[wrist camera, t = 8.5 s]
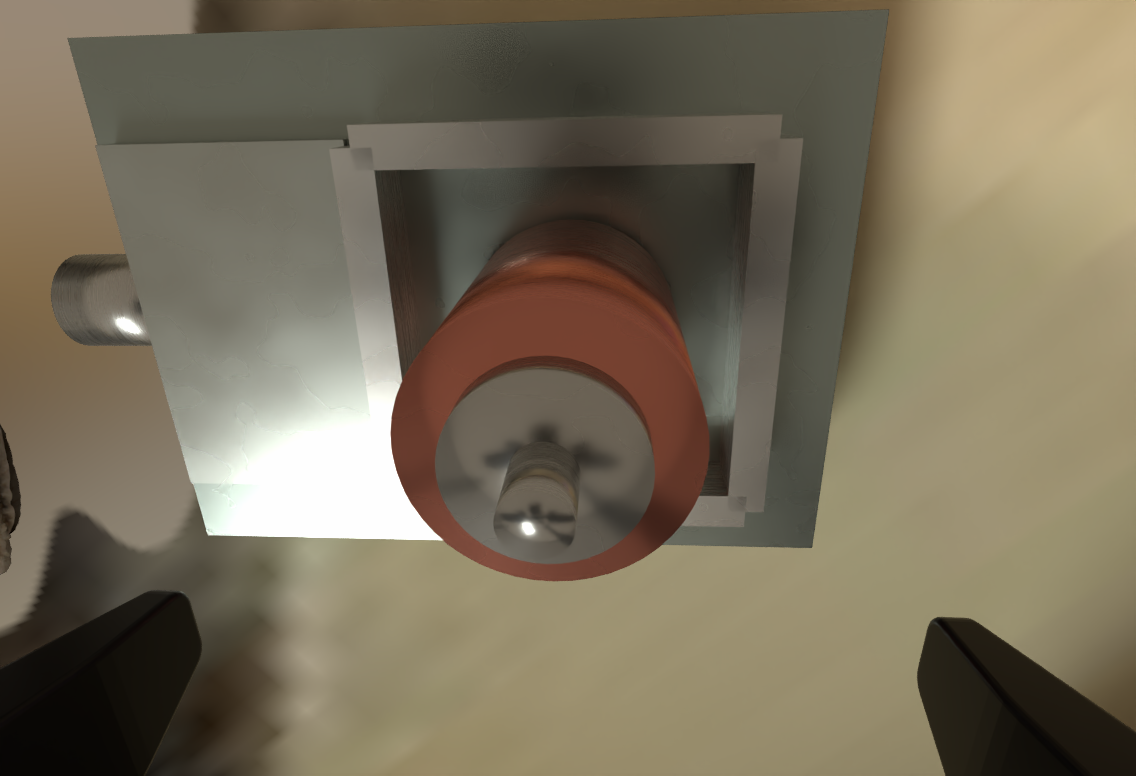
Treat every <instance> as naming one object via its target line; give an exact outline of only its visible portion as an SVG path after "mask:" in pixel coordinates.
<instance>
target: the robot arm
mask: <svg viewBox="0 0 1136 776" xmlns="http://www.w3.org/2000/svg"><path fill="white" fill-rule="evenodd" d="M201 652H202V640H201V636H200V633H199V630H198V626H197V623H196V620H195V616H194V613H193V610H192V606H191V603H190V600H189V598H188V597H187V595H186V594H185V593H183V592H180V591H166V590H153V591H148V592H146V593H144V594H142V595H140V596H138V597H136V598H134V599H132V600H130V601H128V602H126V603H124V604H122V605H121V606H119V607H117V608H115V609H113V610H111V611H109V612H107V613H105V614H103V615H101V616H100V617H98V618H96V619H94V620H92V621H90V622H88V623H86V624H84V625H82V626H80V627H78V628H77V629H75V630H73V631H71V632H69V633H67V634H65V635H63V636H61V637H59V638H57V639H56V640H54V641H52V642H50V643H48V644H46V645H44V646H42V647H40V648H38V649H36V650H34V651H33V652H31V653H29V654H27V655H25V656H23V657H21V658H19V659H17V660H15V661H13V662H11V663H10V664H8V665H6V666H4V667H2V668H0V776H145V775H146V773H147V771H148V769H149V767H150V765H151V763H152V761H153V759H154V757H155V754H156V752H157V750H158V748H159V746H160V744H161V742H162V740H163V737H164V735H165V733H166V731H167V729H168V727H169V725H170V723H171V720H172V718H173V716H174V714H175V712H176V710H177V708H178V706H179V703H180V701H181V699H182V697H183V695H184V693H185V691H186V689H187V686H188V684H189V682H190V680H191V678H192V676H193V674H194V671H195V669H196V667H197V665H198V663H199V660H200V657H201ZM917 681H918V688H919V692H920V696H921V699H922V702H923V705H924V709H925V712H926V715H927V718H928V721H929V725H930V728H931V731H932V734H933V737H934V740H935V744H936V747H937V750H938V753H939V756H940V760H941V763H942V766H943V769H944V772H945V776H1136V732H1135V731H1134V730H1132V729H1131V728H1129V727H1128V726H1127V725H1125V724H1124V723H1122V722H1121V721H1119V720H1118V719H1116V718H1115V717H1114V716H1112V715H1111V714H1109V713H1108V712H1106V711H1105V710H1103V709H1102V708H1101V707H1099V706H1098V705H1096V704H1095V703H1093V702H1092V701H1090V700H1089V699H1088V698H1086V697H1085V696H1083V695H1082V694H1080V693H1079V692H1077V691H1076V690H1074V689H1073V688H1072V687H1070V686H1069V685H1067V684H1066V683H1064V682H1063V681H1061V680H1060V679H1059V678H1057V677H1056V676H1054V675H1053V674H1051V673H1050V672H1048V671H1047V670H1046V669H1044V668H1043V667H1041V666H1040V665H1038V664H1037V663H1035V662H1034V661H1033V660H1031V659H1030V658H1028V657H1027V656H1025V655H1024V654H1022V653H1021V652H1020V651H1018V650H1017V649H1015V648H1014V647H1012V646H1011V645H1009V644H1008V643H1007V642H1005V641H1004V640H1002V639H1001V638H999V637H998V636H996V635H995V634H994V633H992V632H991V631H989V630H988V629H986V628H985V627H983V626H982V625H981V624H979V623H977V622H976V621H974V620H972V619H969V618H954V617H937V618H934V619H933V620H932V621H931V622H930V623H929V626H928V629H927V633H926V637H925V641H924V645H923V650H922V654H921V658H920V662H919V666H918V672H917Z"/></svg>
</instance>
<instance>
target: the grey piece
mask: <svg viewBox="0 0 1136 776" xmlns="http://www.w3.org/2000/svg"><path fill="white" fill-rule="evenodd" d="M888 15H889V10H860V11H831V12H803V13H774V14H745V15H716V16H688V17H659V18H630V19H602V20H573V21H544V22H516V23H487V24H458V25H430V26H401V27H372V28H344V29H315V30H286V31H258V32H229V33H200V34H172V35H145V36H144V35H143V36H115V37H89V38H88V37H87V38H68V42H69V45H70V49H71V52H72V56H73V60H74V63H75V67H76V70H77V74H78V77H79V80H80V84H81V87H82V91H83V94H84V98H85V102H86V105H87V109H88V113H89V116H90V119H91V123H92V127H93V130H94V134H95V137H96V141H97V144H98V145H96V150H97V153H98V157H99V160H100V164H101V167H102V171H103V174H104V178H105V182H106V185H107V189H108V192H109V196H110V199H111V203H112V206H113V210H114V213H115V217H116V220H117V224H118V227H119V231H120V235H121V238H122V241H123V245H124V248H125V252H126V254H93V255H92V254H91V255H90V254H89V255H75V256H72V257H70V258H68V259H67V260H65V261H64V262H63V263H62V264H61V266H60V267H59V268H58V270H57V271H56V273H55V276H54V279H53V282H52V288H51V301H52V307H53V311H54V314H55V317H56V319H57V321H58V323H59V325H60V327H61V328H62V329H63V331H64V332H65V333H66V334H67V335H68V336H69V337H70V338H71V339H73V340H74V341H76V342H78V343H80V344H83V345H89V346H100V345H101V346H102V345H103V346H104V345H105V346H107V345H108V346H111V345H112V346H113V345H114V346H118V345H119V346H123V345H124V346H132V345H133V346H134V345H135V346H137V345H140V346H144V345H145V346H152V347H153V351H154V354H155V358H156V361H157V365H158V368H159V372H160V375H161V378H162V382H163V386H164V389H165V393H166V396H167V400H168V403H169V407H170V410H171V413H172V417H173V421H174V424H175V428H176V431H177V435H178V439H179V442H180V445H181V449H182V452H183V456H184V459H185V463H186V467H187V470H188V474H189V477H190V481H191V483H193V484H194V487H195V491H196V494H197V498H198V502H199V505H200V509H201V512H202V516H203V519H204V523H205V526H206V530H207V533H208V535H235V536H281V537H327V538H374V539H420V540H442V539H441V538H440V537H439V536H438V535H437V534H435V533H434V532H433V531H432V530H431V528H430V527H429V526H428V525H427V524H426V523H425V522H424V521H423V520H422V519H421V517H420V516H419V514H418V513H417V512H416V510H415V509H414V507H413V506H412V504H411V503H410V501H409V499H408V497H407V495H406V494H405V492H404V490H403V488H402V486H401V483H400V480H399V478H398V475H397V472H396V469H395V465H394V460H393V456H392V450H391V437H390V430H391V416H392V411H393V407H394V402H395V398H396V395H397V392H398V390H399V387H400V385H401V382H402V380H403V378H404V376H405V374H406V373H407V371H408V369H409V367H410V366H411V364H412V362H413V361H414V360H415V358H416V357H417V356H418V354H419V353H420V352H421V350H422V349H423V348H424V346H425V345H426V344H427V342H428V341H429V340H430V338H431V337H432V336H433V334H434V333H435V332H436V330H437V329H438V328H439V326H440V325H441V324H442V322H443V321H444V320H445V318H446V317H447V316H448V314H449V313H450V312H451V310H452V309H453V308H454V306H455V305H456V304H457V302H458V301H459V300H460V298H461V297H462V295H463V294H464V293H465V291H466V290H467V289H468V287H469V286H470V285H471V283H472V282H473V281H474V279H475V278H476V277H477V275H478V274H479V273H480V271H481V270H482V269H483V267H484V266H485V265H486V263H487V262H488V261H489V260H490V258H491V257H492V256H493V255H494V253H495V252H496V251H497V250H498V249H499V248H500V247H501V246H502V245H503V244H505V243H506V242H507V241H509V240H510V239H511V238H513V237H514V236H515V235H517V234H519V233H521V232H523V231H525V230H527V229H529V228H531V227H534V226H537V225H539V224H543V223H547V222H552V221H558V220H585V221H590V222H595V223H599V224H602V225H605V226H608V227H611V228H613V229H615V230H618V231H620V232H622V233H624V234H625V235H627V236H628V237H630V238H631V239H633V240H634V241H636V242H637V243H638V244H639V245H640V246H641V247H643V248H644V249H645V250H646V251H647V252H648V253H649V254H650V256H651V257H652V258H653V259H654V260H655V262H656V263H657V265H658V266H659V268H660V269H661V271H662V272H663V274H664V276H665V279H666V281H667V283H668V285H669V288H670V291H671V295H672V298H673V301H674V305H675V308H676V312H677V315H678V319H679V322H680V326H681V329H682V333H683V336H684V340H685V343H686V347H687V351H688V354H689V358H690V361H691V365H692V368H693V372H694V375H695V379H696V382H697V386H698V389H699V393H700V396H701V400H702V403H703V407H704V410H705V414H706V418H707V424H708V430H709V461H708V468H707V474H706V477H705V481H704V484H703V487H702V491H701V493H700V495H699V497H698V499H697V501H696V503H695V506H694V507H693V509H692V511H691V512H690V514H689V515H688V517H687V518H686V520H685V521H684V523H683V524H682V525H681V526H680V527H679V528H678V530H677V531H676V532H675V533H674V534H673V535H672V536H671V537H670V538H669V539H668V540H667V541H666V542H664V543H663V544H662V545H699V546H746V547H792V548H812V545H813V538H814V531H815V524H816V517H817V510H818V503H819V496H820V489H821V482H822V475H823V468H824V461H825V454H826V447H827V440H828V433H829V426H830V419H831V412H832V405H833V398H834V391H835V384H836V377H837V370H838V363H839V356H840V349H841V342H842V335H843V328H844V321H845V314H846V307H847V301H848V294H849V287H850V280H851V273H852V266H853V259H854V252H855V245H856V238H857V231H858V224H859V217H860V210H861V203H862V196H863V189H864V182H865V175H866V168H867V161H868V154H869V147H870V140H871V133H872V126H873V119H874V112H875V105H876V98H877V91H878V84H879V77H880V70H881V63H882V56H883V49H884V42H885V36H886V29H887V22H888Z"/></svg>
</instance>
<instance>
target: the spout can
mask: <svg viewBox="0 0 1136 776" xmlns="http://www.w3.org/2000/svg"><path fill="white" fill-rule="evenodd" d="M390 437H391V450H392V456H393V460H394V465H395V469H396V472H397V475H398V478H399V480H400V483H401V486H402V488H403V490H404V492H405V494H406V495H407V497H408V499H409V501H410V503H411V504H412V506H413V507H414V509H415V510H416V512H417V513H418V514H419V516H420V517H421V519H422V520H423V521H424V522H425V523H426V524H427V525H428V526H429V527H430V528H431V530H432V531H433V532H434V533H435V534H437V535H438V536H439V537H440V538H441V539H442V540H443V541H445V542H446V543H447V544H448V545H450V546H451V547H452V548H454V549H455V550H457V551H458V552H460V553H461V554H463V555H464V556H466V557H468V558H470V559H472V560H473V561H475V562H477V563H479V564H481V565H484V566H486V567H489V568H491V569H493V570H496V571H499V572H502V573H506V574H509V575H513V576H516V577H522V578H527V579H533V580H544V581H573V580H580V579H587V578H593V577H597V576H601V575H605V574H609V573H612V572H614V571H617V570H620V569H622V568H625V567H627V566H629V565H631V564H633V563H635V562H637V561H639V560H641V559H643V558H644V557H646V556H647V555H649V554H650V553H652V552H653V551H655V550H656V549H657V548H659V547H660V546H661V545H662V544H663V543H664V542H666V541H667V540H668V539H669V538H670V537H671V536H672V535H673V534H674V533H675V532H676V531H677V530H678V528H679V527H680V526H681V525H682V524H683V523H684V521H685V520H686V518H687V517H688V515H689V514H690V512H691V511H692V509H693V507H694V506H695V503H696V501H697V499H698V497H699V495H700V493H701V491H702V487H703V484H704V481H705V477H706V474H707V468H708V461H709V430H708V424H707V418H706V414H705V410H704V407H703V403H702V400H701V396H700V393H699V389H698V386H697V382H696V379H695V375H694V372H693V368H692V365H691V361H690V358H689V354H688V351H687V347H686V343H685V340H684V336H683V333H682V329H681V326H680V322H679V319H678V315H677V312H676V308H675V305H674V301H673V298H672V295H671V291H670V288H669V285H668V283H667V281H666V279H665V276H664V274H663V272H662V271H661V269H660V268H659V266H658V265H657V263H656V262H655V260H654V259H653V258H652V257H651V256H650V254H649V253H648V252H647V251H646V250H645V249H644V248H643V247H641V246H640V245H639V244H638V243H637V242H636V241H634V240H633V239H631V238H630V237H628V236H627V235H625V234H624V233H622V232H620V231H618V230H615V229H613V228H611V227H608V226H605V225H602V224H599V223H595V222H590V221H585V220H558V221H552V222H547V223H543V224H539V225H537V226H534V227H531V228H529V229H527V230H525V231H523V232H521V233H519V234H517V235H515V236H514V237H513V238H511V239H510V240H509V241H507V242H506V243H505V244H503V245H502V246H501V247H500V248H499V249H498V250H497V251H496V252H495V253H494V255H493V256H492V257H491V258H490V260H489V261H488V262H487V263H486V265H485V266H484V267H483V269H482V270H481V271H480V273H479V274H478V275H477V277H476V278H475V279H474V281H473V282H472V283H471V285H470V286H469V287H468V289H467V290H466V291H465V293H464V294H463V295H462V297H461V298H460V300H459V301H458V302H457V304H456V305H455V306H454V308H453V309H452V310H451V312H450V313H449V314H448V316H447V317H446V318H445V320H444V321H443V322H442V324H441V325H440V326H439V328H438V329H437V330H436V332H435V333H434V334H433V336H432V337H431V338H430V340H429V341H428V342H427V344H426V345H425V346H424V348H423V349H422V350H421V352H420V353H419V354H418V356H417V357H416V358H415V360H414V361H413V362H412V364H411V366H410V367H409V369H408V371H407V373H406V374H405V376H404V378H403V380H402V382H401V385H400V387H399V390H398V392H397V395H396V398H395V402H394V407H393V411H392V416H391V430H390Z"/></svg>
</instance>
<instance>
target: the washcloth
mask: <svg viewBox="0 0 1136 776" xmlns="http://www.w3.org/2000/svg"><path fill="white" fill-rule="evenodd" d="M20 509H21V494H20V489H19V481H18V478H17V474H16V470H15V467H14V465H13V458H12V453H11V450H10V446H9V443H8V441H7V438H6V433H5V431H4V430H3V428H2V426H1V425H0V575H1V574H3V573H5V572H6V571H7V570H8V568H9V566H10V564H11V558H10V555H11V550H12V548H11V546H10V542H9V539H10V538H11V535H10V534H11V533H12V532H13V531H14V530H15V529H16V526H17V525H18V523H19V518H20V515H21V512H20Z"/></svg>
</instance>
